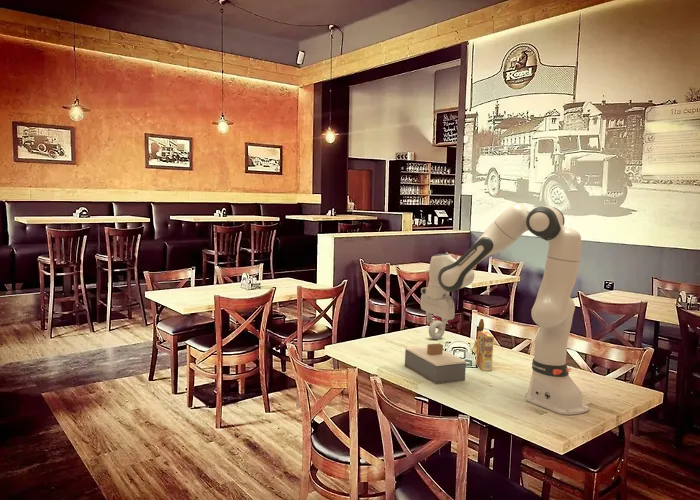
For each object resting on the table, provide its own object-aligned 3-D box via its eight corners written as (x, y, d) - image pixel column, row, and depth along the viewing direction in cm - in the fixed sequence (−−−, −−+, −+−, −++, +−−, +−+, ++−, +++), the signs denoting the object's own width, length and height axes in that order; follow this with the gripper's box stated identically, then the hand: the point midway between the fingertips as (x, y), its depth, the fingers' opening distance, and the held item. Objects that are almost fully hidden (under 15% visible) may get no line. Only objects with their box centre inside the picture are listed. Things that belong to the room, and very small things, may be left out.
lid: (465, 363, 216) (466, 351, 216) (436, 366, 211) (437, 354, 210) (432, 346, 238) (433, 336, 238) (405, 349, 232) (406, 338, 232)
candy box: (492, 371, 231) (494, 336, 229) (482, 371, 230) (485, 336, 228) (484, 364, 239) (486, 330, 238) (475, 364, 239) (477, 330, 237)
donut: (441, 337, 283) (442, 318, 282) (445, 339, 280) (446, 320, 279) (426, 339, 277) (427, 320, 276) (431, 341, 275) (432, 322, 274)
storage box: (464, 380, 217) (465, 363, 216) (435, 384, 211) (436, 367, 211) (432, 362, 239) (432, 347, 238) (404, 365, 233) (405, 349, 232)
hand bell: (478, 348, 265) (480, 316, 264) (491, 352, 258) (493, 320, 257) (466, 350, 260) (468, 318, 259) (479, 355, 254) (482, 321, 252)
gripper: (459, 297, 214) (457, 331, 215) (431, 287, 232) (429, 319, 234) (446, 297, 211) (444, 332, 212) (418, 288, 229) (416, 319, 231)
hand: (436, 325), depth 223 cm, fingers open, 8 cm apart
